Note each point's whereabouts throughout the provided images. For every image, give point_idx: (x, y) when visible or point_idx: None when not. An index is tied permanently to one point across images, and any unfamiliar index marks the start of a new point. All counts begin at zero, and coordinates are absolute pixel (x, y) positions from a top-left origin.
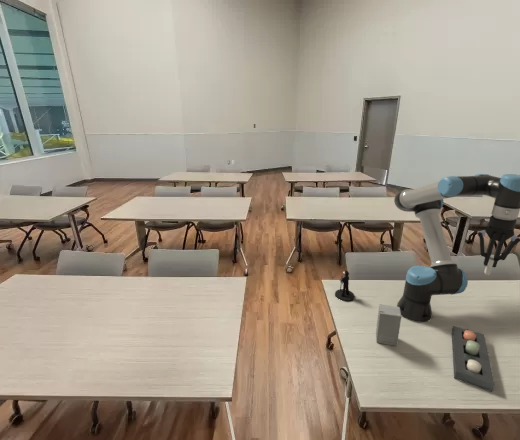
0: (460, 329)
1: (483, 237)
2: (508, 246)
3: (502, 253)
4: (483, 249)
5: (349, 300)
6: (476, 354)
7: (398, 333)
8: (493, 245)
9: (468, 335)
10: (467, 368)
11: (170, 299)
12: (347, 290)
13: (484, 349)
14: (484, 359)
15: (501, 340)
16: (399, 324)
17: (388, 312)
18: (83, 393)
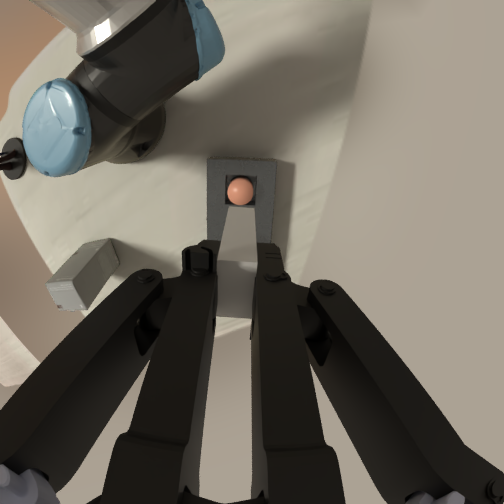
0: (223, 167)
1: (63, 485)
2: (365, 444)
3: (326, 325)
4: (132, 371)
5: (22, 171)
6: None
7: (106, 281)
8: (199, 445)
9: (235, 203)
10: None
11: None
12: (6, 160)
13: (266, 221)
14: None
15: (317, 137)
16: (95, 296)
17: (67, 305)
18: (16, 383)
